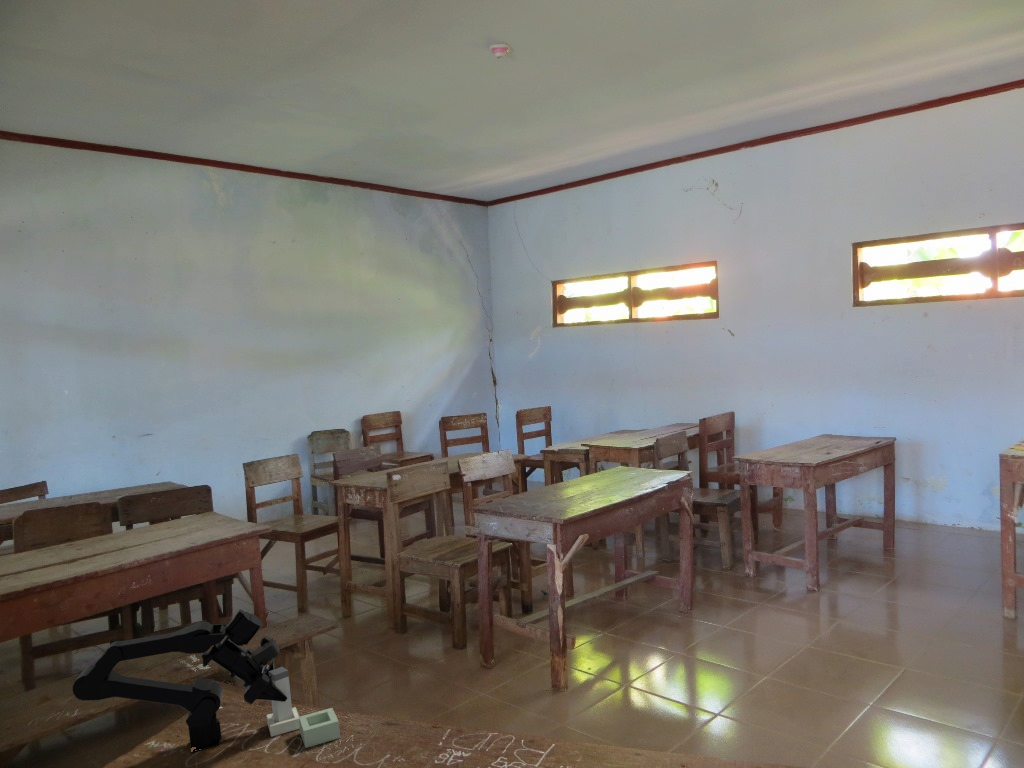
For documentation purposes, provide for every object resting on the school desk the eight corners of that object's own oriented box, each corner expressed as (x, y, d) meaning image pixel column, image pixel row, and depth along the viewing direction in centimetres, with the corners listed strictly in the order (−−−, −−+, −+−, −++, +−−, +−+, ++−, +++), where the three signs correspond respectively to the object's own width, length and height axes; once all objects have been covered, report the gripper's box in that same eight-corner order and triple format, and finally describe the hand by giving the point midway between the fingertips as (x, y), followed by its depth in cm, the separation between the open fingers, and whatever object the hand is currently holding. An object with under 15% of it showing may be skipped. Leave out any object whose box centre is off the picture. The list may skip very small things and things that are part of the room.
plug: (279, 723, 179) (274, 675, 179) (273, 719, 182) (268, 671, 182) (292, 718, 182) (288, 670, 181) (286, 714, 184) (282, 666, 184)
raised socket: (305, 748, 170) (303, 731, 170) (300, 733, 178) (298, 717, 177) (340, 737, 174) (338, 721, 174) (333, 723, 181) (332, 707, 181)
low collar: (270, 736, 177) (269, 726, 177) (267, 724, 184) (266, 714, 184) (300, 728, 180) (299, 718, 180) (296, 716, 186) (295, 707, 186)
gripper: (253, 645, 171) (307, 683, 174) (260, 620, 189) (309, 654, 192) (221, 686, 169) (276, 723, 172) (230, 656, 187) (280, 690, 191)
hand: (286, 695), depth 182 cm, fingers closed on plug, 5 cm apart
